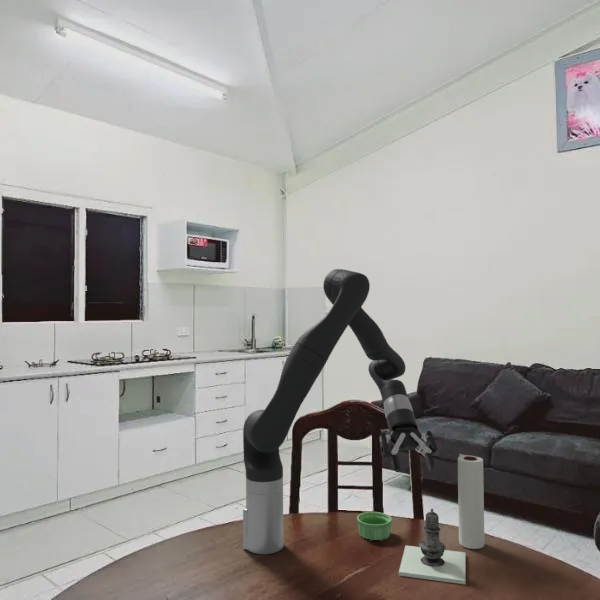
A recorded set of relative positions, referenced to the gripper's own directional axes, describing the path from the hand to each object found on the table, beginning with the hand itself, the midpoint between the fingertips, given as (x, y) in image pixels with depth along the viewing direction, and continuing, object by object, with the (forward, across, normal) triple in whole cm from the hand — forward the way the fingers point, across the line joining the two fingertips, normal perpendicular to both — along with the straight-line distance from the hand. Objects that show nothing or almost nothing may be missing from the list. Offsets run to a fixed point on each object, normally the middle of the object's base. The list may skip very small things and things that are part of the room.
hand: (414, 470), depth 135 cm
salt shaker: (+20, 0, +5) cm, 21 cm away
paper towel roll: (+14, +14, +12) cm, 23 cm away
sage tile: (+21, 0, +5) cm, 22 cm away
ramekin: (+8, -9, +18) cm, 22 cm away
